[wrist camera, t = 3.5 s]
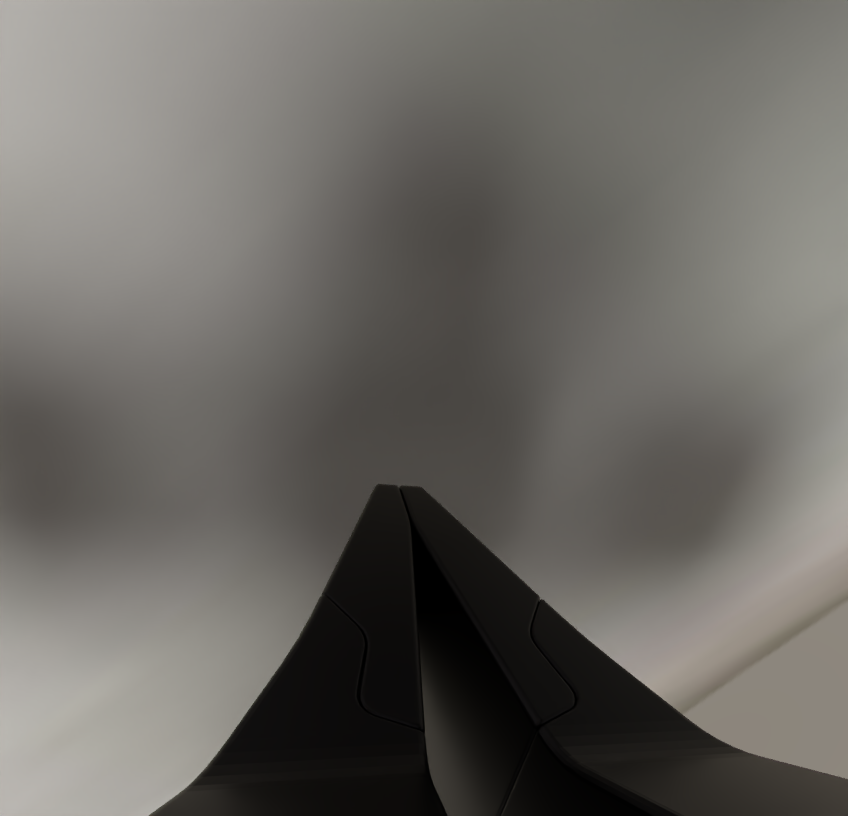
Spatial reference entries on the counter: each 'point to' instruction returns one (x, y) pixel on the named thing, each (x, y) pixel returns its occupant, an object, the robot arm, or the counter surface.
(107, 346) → the counter surface
